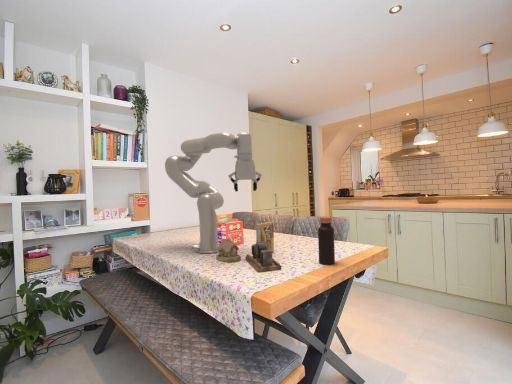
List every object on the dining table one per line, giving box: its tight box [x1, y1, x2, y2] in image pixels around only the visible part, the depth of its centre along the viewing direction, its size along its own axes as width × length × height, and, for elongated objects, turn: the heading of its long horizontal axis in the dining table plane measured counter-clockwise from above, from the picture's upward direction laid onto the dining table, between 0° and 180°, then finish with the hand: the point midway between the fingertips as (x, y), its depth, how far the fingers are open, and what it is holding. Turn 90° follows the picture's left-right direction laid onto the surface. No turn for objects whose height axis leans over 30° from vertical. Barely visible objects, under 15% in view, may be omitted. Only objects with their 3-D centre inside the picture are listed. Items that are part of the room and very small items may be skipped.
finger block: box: [255, 241, 269, 263], centre depth 120 cm, size 4×6×8 cm
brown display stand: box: [245, 243, 282, 273], centre depth 120 cm, size 10×20×8 cm, turn 17°
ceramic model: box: [215, 238, 242, 264], centre depth 131 cm, size 14×11×10 cm
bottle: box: [317, 216, 336, 266], centre depth 119 cm, size 7×7×20 cm
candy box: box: [255, 221, 275, 253], centre depth 141 cm, size 9×4×15 cm, turn 129°
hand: (245, 191), depth 139 cm, fingers open, 9 cm apart
